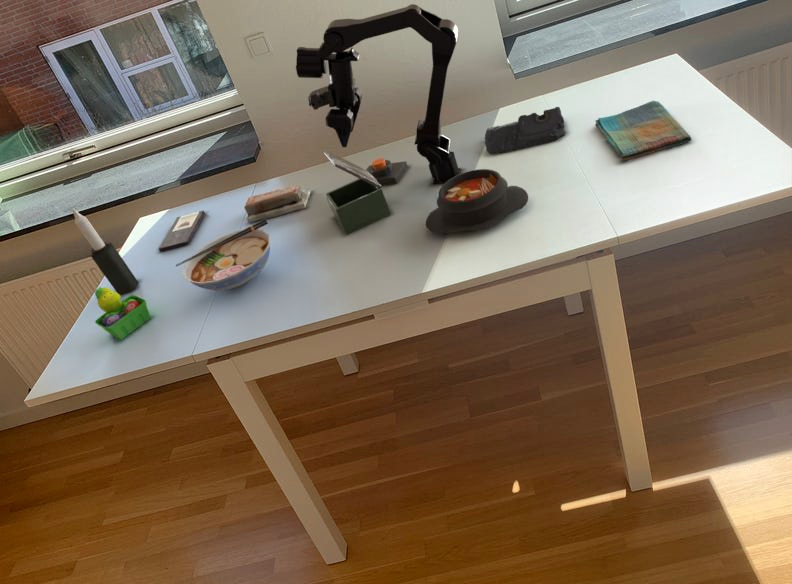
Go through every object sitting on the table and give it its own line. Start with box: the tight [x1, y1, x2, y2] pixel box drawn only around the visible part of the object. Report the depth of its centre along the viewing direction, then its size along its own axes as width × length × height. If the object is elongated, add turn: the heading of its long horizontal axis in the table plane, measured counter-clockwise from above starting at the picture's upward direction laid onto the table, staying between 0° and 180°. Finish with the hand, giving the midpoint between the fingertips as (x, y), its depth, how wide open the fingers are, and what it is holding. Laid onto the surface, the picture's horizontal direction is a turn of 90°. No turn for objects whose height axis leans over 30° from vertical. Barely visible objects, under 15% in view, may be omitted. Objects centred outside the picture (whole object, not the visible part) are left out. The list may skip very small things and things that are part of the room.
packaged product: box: [243, 184, 312, 223], centre depth 200 cm, size 18×5×10 cm
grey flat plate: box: [323, 148, 382, 189], centre depth 176 cm, size 13×12×1 cm
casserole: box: [425, 168, 529, 235], centre depth 164 cm, size 25×19×8 cm
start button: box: [371, 157, 386, 170], centre depth 196 cm, size 4×4×2 cm
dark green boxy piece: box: [324, 178, 392, 235], centre depth 181 cm, size 13×12×7 cm
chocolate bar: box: [158, 210, 206, 252], centre depth 208 cm, size 9×1×18 cm
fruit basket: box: [94, 286, 152, 341], centre depth 170 cm, size 11×9×11 cm
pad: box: [365, 159, 409, 186], centre depth 197 cm, size 12×9×4 cm
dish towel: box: [594, 100, 692, 162], centre depth 174 cm, size 17×23×2 cm
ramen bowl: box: [176, 218, 271, 292], centre depth 174 cm, size 25×23×8 cm
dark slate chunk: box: [484, 106, 566, 155], centre depth 191 cm, size 15×22×5 cm
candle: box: [71, 207, 139, 296], centre depth 182 cm, size 5×5×25 cm
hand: (347, 139), depth 181 cm, fingers open, 9 cm apart
